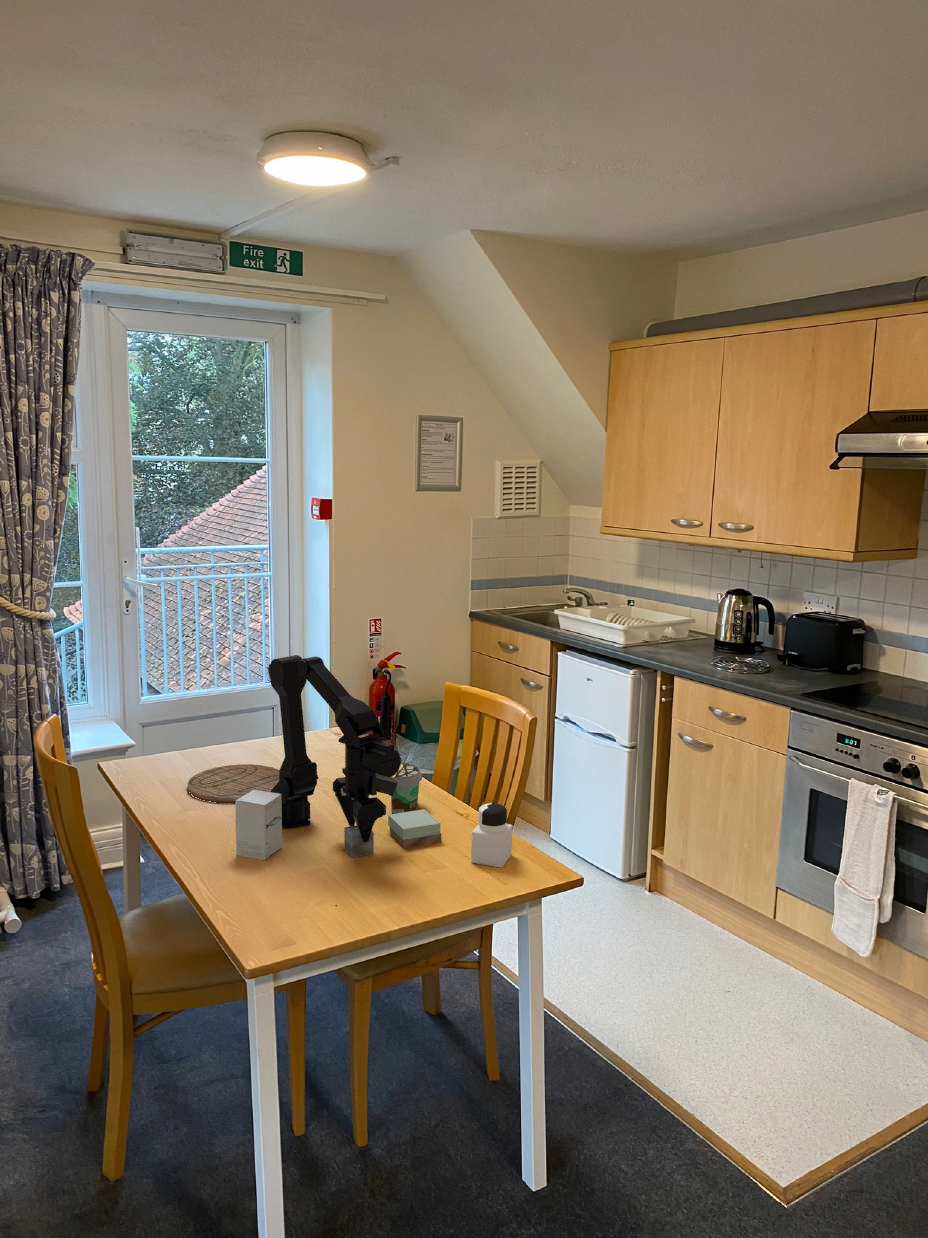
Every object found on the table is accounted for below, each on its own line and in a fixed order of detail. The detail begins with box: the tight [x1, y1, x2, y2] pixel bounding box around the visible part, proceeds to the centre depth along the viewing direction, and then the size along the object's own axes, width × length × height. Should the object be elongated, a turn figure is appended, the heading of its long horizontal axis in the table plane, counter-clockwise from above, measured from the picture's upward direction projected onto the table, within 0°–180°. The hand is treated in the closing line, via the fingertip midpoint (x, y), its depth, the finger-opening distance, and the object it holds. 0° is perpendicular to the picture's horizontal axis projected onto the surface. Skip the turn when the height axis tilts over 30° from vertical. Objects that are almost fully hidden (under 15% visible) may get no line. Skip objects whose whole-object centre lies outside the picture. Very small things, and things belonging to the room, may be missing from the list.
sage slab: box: [387, 808, 441, 840], centre depth 212 cm, size 9×9×2 cm
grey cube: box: [343, 824, 375, 858], centre depth 204 cm, size 5×5×5 cm
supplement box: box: [234, 790, 283, 861], centre depth 202 cm, size 7×7×13 cm
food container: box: [390, 762, 423, 814], centre depth 228 cm, size 12×6×10 cm, turn 168°
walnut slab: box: [389, 826, 442, 849], centre depth 212 cm, size 9×9×2 cm
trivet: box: [187, 763, 280, 804], centre depth 242 cm, size 25×25×2 cm
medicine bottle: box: [470, 802, 513, 869], centre depth 201 cm, size 7×7×12 cm
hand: (358, 833), depth 204 cm, fingers open, 9 cm apart
